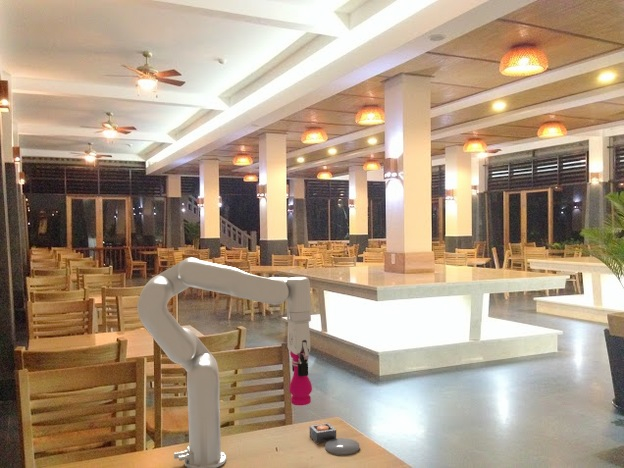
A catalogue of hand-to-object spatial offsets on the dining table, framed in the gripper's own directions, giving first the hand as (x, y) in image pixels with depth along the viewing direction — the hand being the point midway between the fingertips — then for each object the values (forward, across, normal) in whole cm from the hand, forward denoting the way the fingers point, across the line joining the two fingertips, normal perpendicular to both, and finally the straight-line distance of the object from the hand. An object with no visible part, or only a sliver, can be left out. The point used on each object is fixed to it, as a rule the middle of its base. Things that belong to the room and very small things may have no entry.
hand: (300, 372), depth 179 cm
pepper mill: (+10, 0, 0) cm, 10 cm away
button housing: (+25, -8, +10) cm, 29 cm away
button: (+24, -8, +10) cm, 27 cm away
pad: (+25, +2, +13) cm, 29 cm away
